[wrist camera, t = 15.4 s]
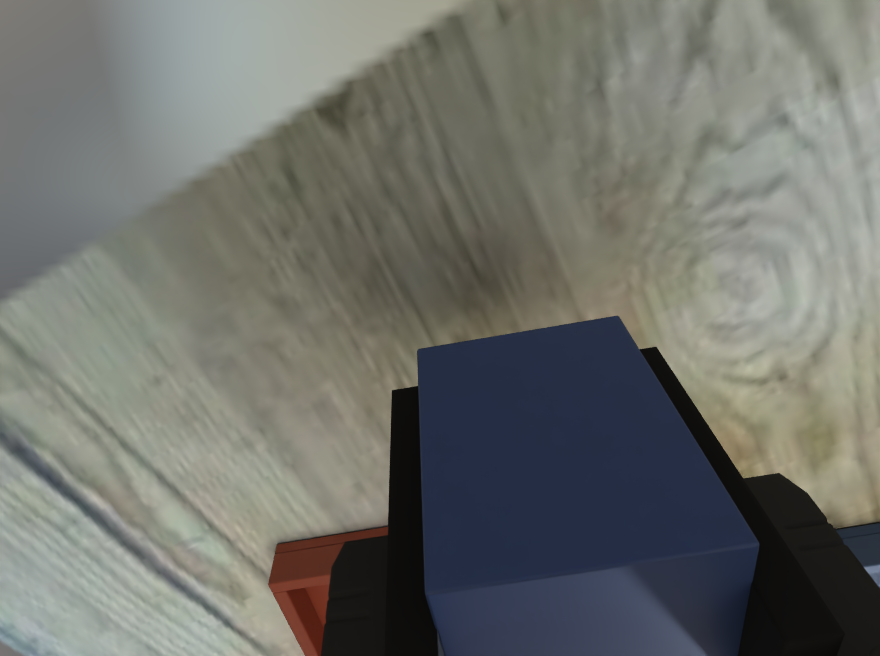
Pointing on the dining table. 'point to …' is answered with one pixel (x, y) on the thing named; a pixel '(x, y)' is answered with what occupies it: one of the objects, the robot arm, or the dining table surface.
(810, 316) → the dining table surface
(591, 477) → the blue block
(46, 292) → the dining table surface
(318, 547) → the red tray
